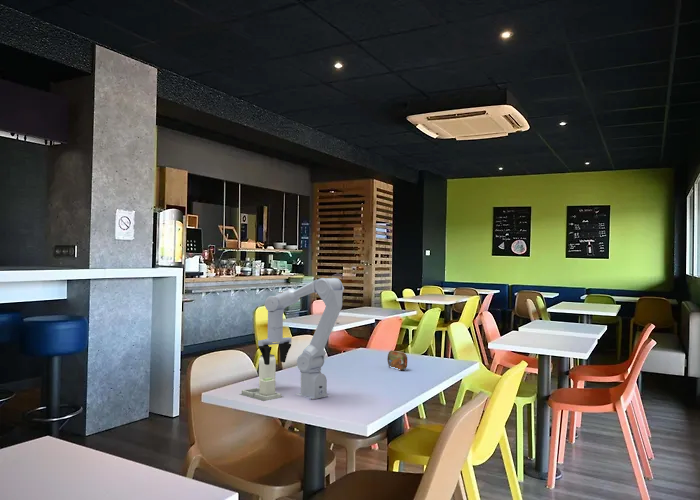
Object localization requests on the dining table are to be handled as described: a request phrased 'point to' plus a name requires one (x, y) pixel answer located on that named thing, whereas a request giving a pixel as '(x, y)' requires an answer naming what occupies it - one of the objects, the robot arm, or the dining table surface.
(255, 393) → the grey divided tray
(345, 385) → the dining table surface
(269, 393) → the plug
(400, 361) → the tin
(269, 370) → the can
